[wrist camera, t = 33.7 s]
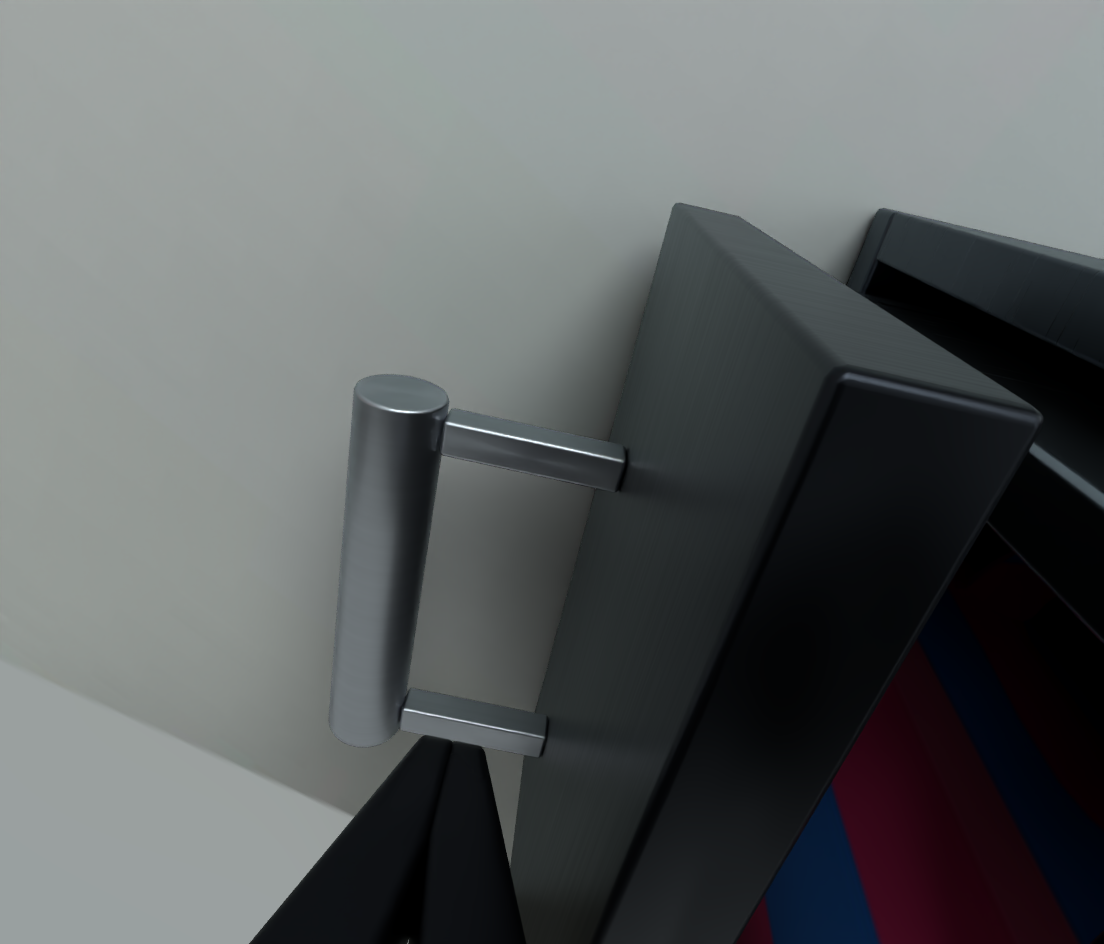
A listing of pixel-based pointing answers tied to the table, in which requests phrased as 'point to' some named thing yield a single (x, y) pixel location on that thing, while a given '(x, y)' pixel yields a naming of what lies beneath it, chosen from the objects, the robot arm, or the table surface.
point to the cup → (959, 794)
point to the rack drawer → (728, 569)
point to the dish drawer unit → (987, 282)
